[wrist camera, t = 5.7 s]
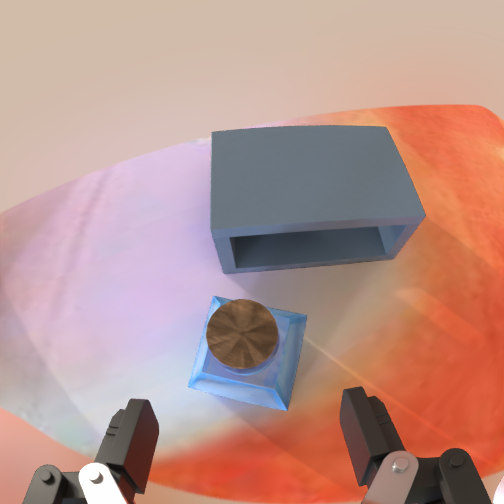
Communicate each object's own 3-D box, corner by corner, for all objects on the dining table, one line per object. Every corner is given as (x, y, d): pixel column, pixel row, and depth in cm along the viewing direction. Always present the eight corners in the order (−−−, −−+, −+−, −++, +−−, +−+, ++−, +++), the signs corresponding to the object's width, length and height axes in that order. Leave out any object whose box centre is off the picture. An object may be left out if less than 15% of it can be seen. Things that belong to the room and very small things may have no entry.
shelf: (223, 274, 28) (210, 230, 21) (221, 185, 32) (211, 131, 25) (393, 259, 28) (426, 215, 21) (367, 177, 32) (386, 126, 25)
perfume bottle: (297, 334, 25) (322, 282, 14) (282, 407, 22) (296, 416, 12) (224, 319, 26) (195, 257, 15) (206, 389, 23) (156, 381, 12)
